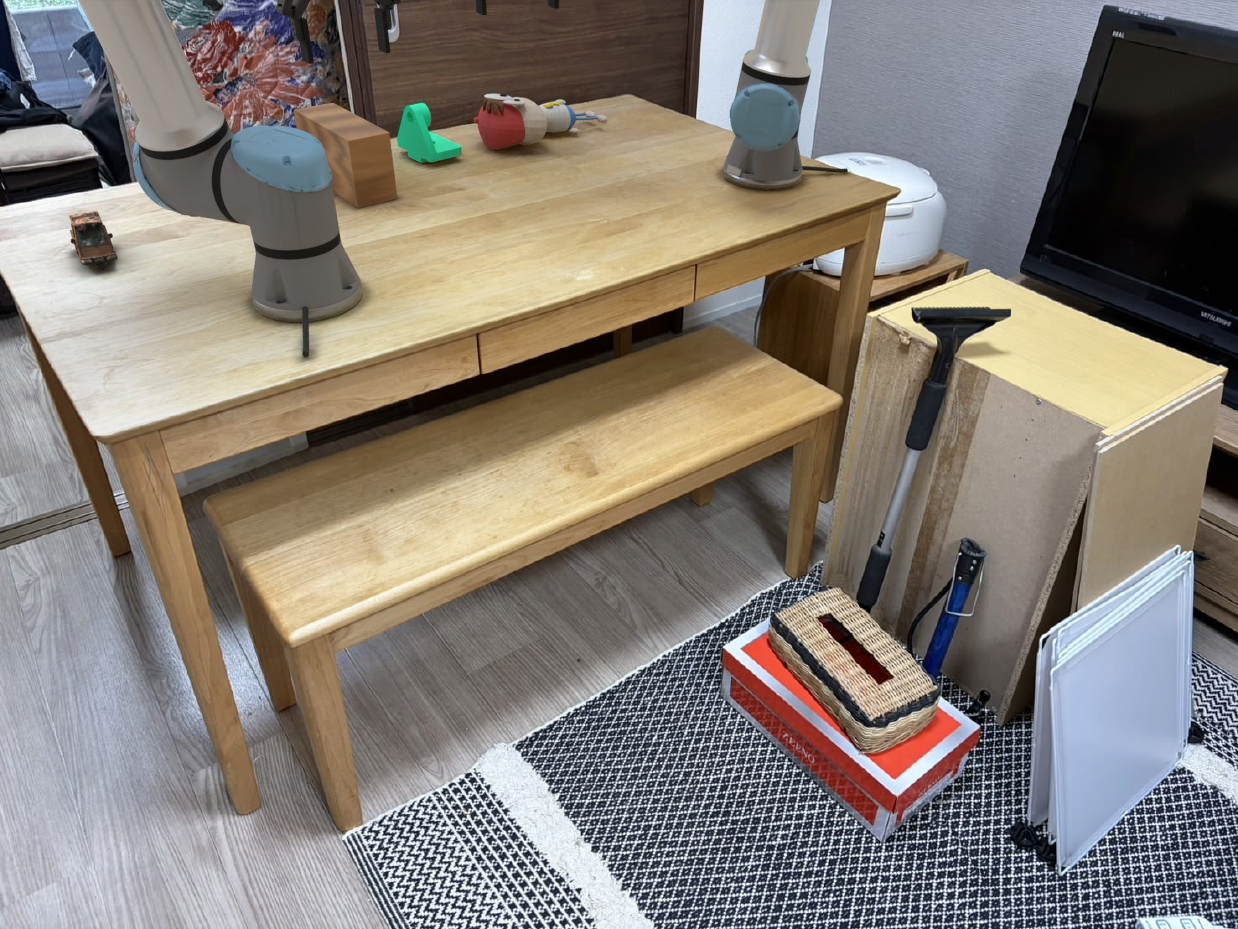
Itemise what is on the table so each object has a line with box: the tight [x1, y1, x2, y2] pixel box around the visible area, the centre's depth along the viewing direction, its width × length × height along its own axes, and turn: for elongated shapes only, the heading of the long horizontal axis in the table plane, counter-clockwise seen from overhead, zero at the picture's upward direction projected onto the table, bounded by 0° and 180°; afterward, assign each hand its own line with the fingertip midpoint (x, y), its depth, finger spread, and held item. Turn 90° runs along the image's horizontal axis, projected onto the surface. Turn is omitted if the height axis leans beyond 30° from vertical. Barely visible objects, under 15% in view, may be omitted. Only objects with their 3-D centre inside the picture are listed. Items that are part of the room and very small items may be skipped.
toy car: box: [68, 210, 118, 272], centre depth 141 cm, size 6×12×7 cm, turn 39°
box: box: [293, 102, 398, 209], centre depth 168 cm, size 22×8×12 cm, turn 40°
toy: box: [473, 93, 609, 150], centre depth 194 cm, size 18×10×30 cm
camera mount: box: [396, 102, 463, 164], centre depth 182 cm, size 12×8×10 cm, turn 42°
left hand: (347, 56), depth 152 cm, fingers open, 13 cm apart
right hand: (518, 10), depth 159 cm, fingers open, 13 cm apart
